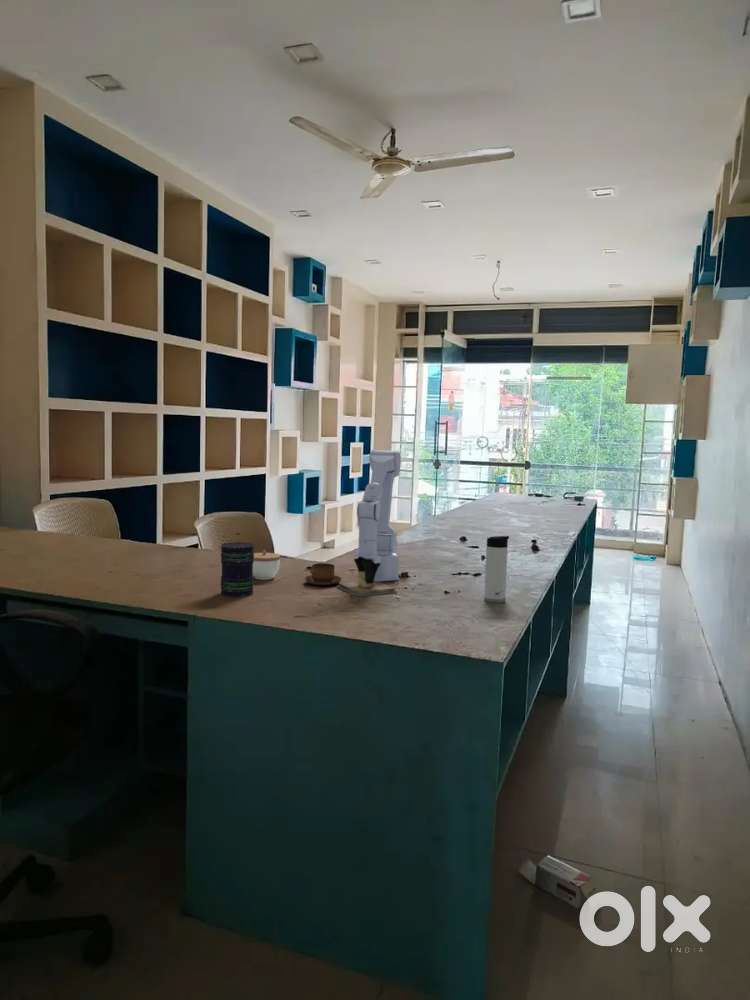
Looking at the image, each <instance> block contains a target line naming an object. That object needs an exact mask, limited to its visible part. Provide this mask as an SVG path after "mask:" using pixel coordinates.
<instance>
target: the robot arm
mask: <svg viewBox="0 0 750 1000" xmlns="http://www.w3.org/2000/svg"><path fill="white" fill-rule="evenodd" d="M368 458H369V459H368V461H369V466H370V470H371V471H372V473H371V479H370V483H368V484H366V487H365V490H364V491H363V492H364V494H363V496H362V500H361V501H360V502H358V504H357V507H356V517H357V525H358V549H354V555H353V556H354V557H357V558H353V559H354V560H353V561H354V563H355V565H356V568H357V571H358V573H359V571H365V576H366V583H367V584H370V583H373V582H374V580H376V581H378V582H388V581H390V582H391V581H400V578H399V575H400V573H399V571H400V570H399V569H400V559H399V555H398V554H396V553H395V552H396V550H397V544H398V543H397V542H398V541H397V535H398V534H397V531H396V529H395V528H393V527H392V526H391V525H390V522H391V511H392V510H391V509H392V497H393V487H394V483H395V482H394V481H395V478H397V477H398V476H400V471H401V462H402V461H401V458H402V457H401V453H400V451H399V450H397V449H396V450H377V449H372V450H371V451H370V452H369V457H368Z"/></svg>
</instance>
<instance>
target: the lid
mask: <svg viewBox="0 0 750 1000" xmlns="http://www.w3.org/2000/svg"><path fill="white" fill-rule="evenodd" d="M358 574H359V575H358V581H349V582H339V586H341V587H343V588H345V589H347V590H349V591H352V592H354V593H356V594H366V593H376V592H387V591H394V590H395V587H392V586H391V585H388V584H385V583H383V582H382V581H379V582H378V581H376V580H374V582H373V583H370V584H367V583H366V576H365V571H359V572H358ZM395 591H396V590H395Z"/></svg>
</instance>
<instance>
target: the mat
mask: <svg viewBox="0 0 750 1000" xmlns="http://www.w3.org/2000/svg"><path fill="white" fill-rule="evenodd" d="M336 588H338V589H340V590H343V591H344V592H346V593H348V594H350V595H352V596H354V597H357V598H358V597H366V596H367V597H368V596H369V597H370V596H378V595H380V596H381V595H388V594H397V593H398V591H397V590H394V591H387V592H376V593H366V594H356V593H354V592H352V591H349V590H347V589H345V588H343V587H341V586H339V585H337V586H336Z"/></svg>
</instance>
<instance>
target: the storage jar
mask: <svg viewBox="0 0 750 1000" xmlns="http://www.w3.org/2000/svg"><path fill="white" fill-rule="evenodd" d="M235 535H237V536H239V535H241V534H240V532H237V533H235ZM220 545H221V546H220V548H221V550H220V558H221V559H220V563H221V576H220V589H221V590H220V595H221V596H223V597H226V598H245V597H250V596H253V595H254V590H253V589H254V585H255V584H254V583H255V581H254V576H253V563H254V558H253V557H254V553H255V552H254V550H255V549H254V547H255V546H254V543H250V542H240V541H238V542H226V543H222V544H220Z"/></svg>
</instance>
